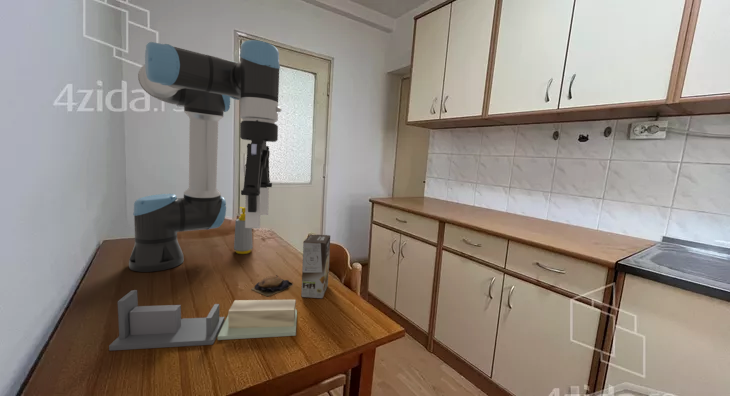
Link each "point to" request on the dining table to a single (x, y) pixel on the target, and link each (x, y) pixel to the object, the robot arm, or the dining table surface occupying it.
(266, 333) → the sage mat
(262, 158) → the robot arm
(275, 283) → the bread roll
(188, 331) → the cradle
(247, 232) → the soap bottle
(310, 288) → the coffee box
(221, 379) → the dining table surface
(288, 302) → the maple bar
